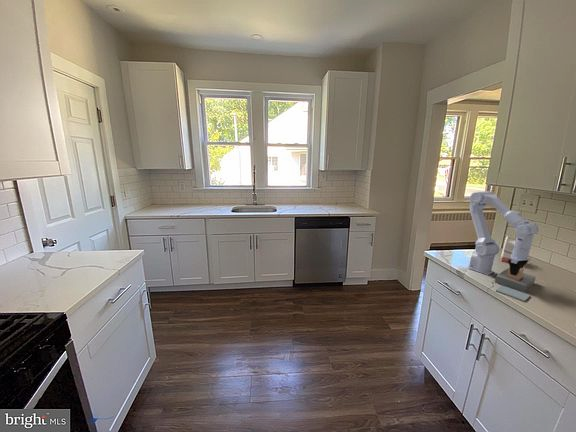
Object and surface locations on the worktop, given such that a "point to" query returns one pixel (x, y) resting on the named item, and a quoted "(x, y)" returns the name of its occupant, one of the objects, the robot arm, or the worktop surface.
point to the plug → (518, 276)
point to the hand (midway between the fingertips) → (515, 273)
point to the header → (515, 281)
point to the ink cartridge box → (507, 250)
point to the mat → (513, 293)
